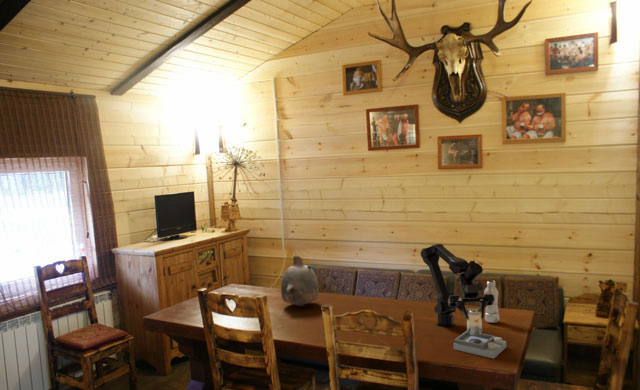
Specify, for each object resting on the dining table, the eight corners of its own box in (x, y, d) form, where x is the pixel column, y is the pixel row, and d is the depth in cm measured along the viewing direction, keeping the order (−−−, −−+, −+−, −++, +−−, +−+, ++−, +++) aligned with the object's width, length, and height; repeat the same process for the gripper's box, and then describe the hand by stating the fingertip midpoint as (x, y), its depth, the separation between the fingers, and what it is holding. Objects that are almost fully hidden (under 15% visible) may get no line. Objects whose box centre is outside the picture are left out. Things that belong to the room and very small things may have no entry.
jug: (319, 312, 259) (316, 257, 257) (279, 314, 259) (276, 259, 257) (319, 299, 283) (317, 249, 281) (283, 300, 284) (281, 251, 281)
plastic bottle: (500, 324, 227) (499, 283, 225) (485, 324, 228) (484, 283, 226) (498, 320, 233) (497, 279, 231) (484, 319, 234) (482, 279, 233)
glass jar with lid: (465, 330, 205) (464, 308, 204) (479, 329, 204) (479, 308, 204) (470, 337, 196) (469, 315, 196) (485, 337, 196) (485, 314, 195)
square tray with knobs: (453, 349, 201) (453, 338, 201) (467, 338, 212) (467, 328, 211) (493, 358, 190) (493, 347, 190) (506, 347, 200) (506, 336, 200)
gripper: (448, 277, 204) (455, 310, 194) (492, 275, 203) (501, 308, 193) (445, 289, 213) (451, 322, 203) (487, 288, 212) (496, 321, 201)
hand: (474, 318), depth 200 cm, fingers closed on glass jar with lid, 6 cm apart
